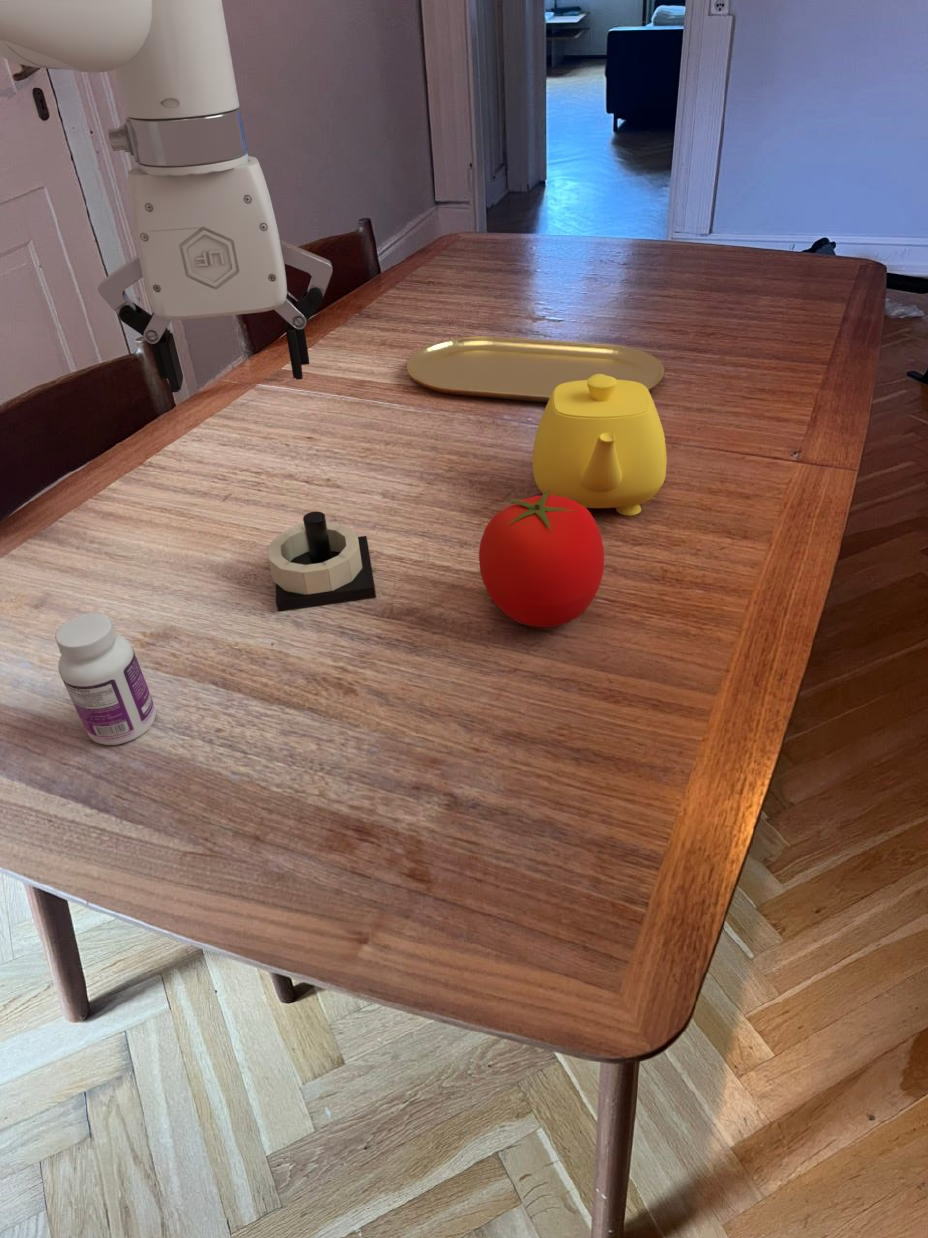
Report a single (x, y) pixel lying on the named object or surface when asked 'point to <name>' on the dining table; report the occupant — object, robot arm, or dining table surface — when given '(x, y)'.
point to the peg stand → (318, 554)
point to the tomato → (542, 560)
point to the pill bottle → (104, 680)
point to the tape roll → (314, 575)
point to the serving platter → (525, 366)
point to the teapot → (600, 444)
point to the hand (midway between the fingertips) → (238, 379)
